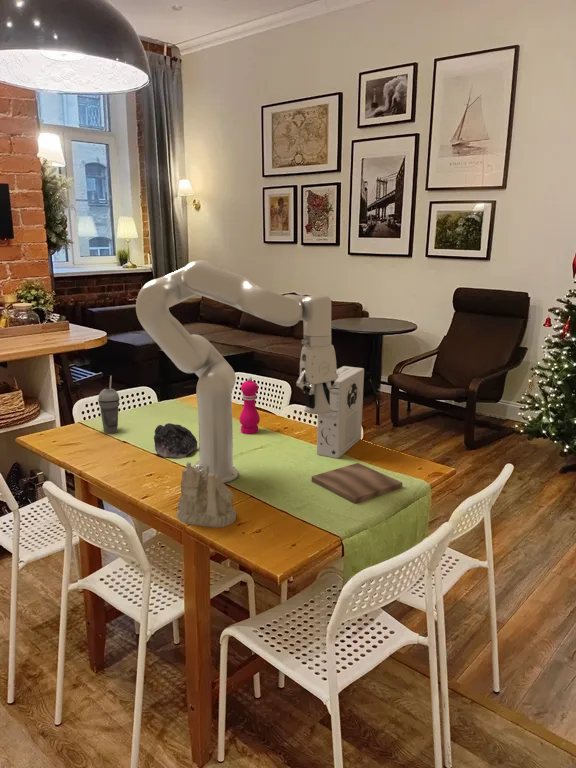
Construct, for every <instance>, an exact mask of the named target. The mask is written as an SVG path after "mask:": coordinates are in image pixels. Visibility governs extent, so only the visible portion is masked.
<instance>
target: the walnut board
mask: <svg viewBox="0 0 576 768" xmlns="http://www.w3.org/2000/svg"><path fill="white" fill-rule="evenodd" d="M311 482H312V483H315V484H316V485H318V486H320V487H322V488H324V489H326V490H328V491H330V492H331V493H333V494H335V495H337V496H339V497H341V498H343V499H345V500H347V501H349V502H351V503H353V504H355V505H356V504H359V503H361V502H365V501H367V500H371V499H374V498H377V497H379V496H381V495H384V494H388V493H390V492H393V491H396V490H399V489H402V488H403V481H400V480H398V479H396V478H393V477H391V476H389V475H387V474H384V473H382V472H380V471H377V470H375V469H373V468H370V467H369V466H365V465H364V464H361V463H360V462H356V463H352V464H349V465H345V466H342V467H338V468H334V469H332V470H328V471H325V472H321V473H318V474H315V475H312V476H311Z"/></svg>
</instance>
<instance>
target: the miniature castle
mask: <svg viewBox="0 0 576 768" xmlns="http://www.w3.org/2000/svg"><path fill="white" fill-rule="evenodd" d="M186 468H187V469H186ZM186 468H185V469H186V471H185V470H184V469H182V470H181V473H182V474H181V479H180V493H181V496H180V497H179V498H178V502H177V513H176V518H177V519H178V520H179V521H180V522H182V523H183V524H186V525H187V524H188V525H192V526H200V527H208V528H209V527H210V528H217V529H218V528H224V527H228V526H230V525H232V524H233V523H234V522H235V521H236V518H237V512H236V510H235V509H234V508H233V505H234V504H233V503H234V500H233V499H232V498H233V496H234V493H233V492H232V490H231V489H230V488H229V487H228V486H227V485H226V483H223V481H222V480H221V478H220V477H219V475H216V477H215V475H214V474H213V473H209V474H208V473H207V472H205V474H204V475H203V476H202V473H201V472H200V471H199V469H194V466H192V463H191V462H189V461H187V462H186Z"/></svg>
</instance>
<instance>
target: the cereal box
mask: <svg viewBox="0 0 576 768" xmlns="http://www.w3.org/2000/svg"><path fill="white" fill-rule="evenodd" d="M337 374H338V378H337V380H336V381H335V382H334V384H333V386H332V390H331V391H330V404H329V406H330V408H331V411H330V412H329V413H325V414H321V415H319V414H317V427H316V429H317V430H316V431H317V433H316V436H317V437H316V455H318V456H323V457H329V458H333V459H339V458H341V456H343V455H344V454H345V453H347V451H349V450H350V449H351V448H352V447H353V446H355V444H356V443H358V442H359V441H360V440H361V439H362V423H363V403H364V402H363V401H364V400H363V399H364V382H365V381H364V380H365V378H364V377H365V368H363V367H355V366H347V365H343V366H341V367H339V368H337Z"/></svg>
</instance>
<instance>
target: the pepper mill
mask: <svg viewBox="0 0 576 768" xmlns="http://www.w3.org/2000/svg"><path fill="white" fill-rule="evenodd" d="M240 390H241V393H242V397H241V398H242V400H243V408H242V410H241V413H240V415H239V423H240V424H241V426H240V432H241V433H242V434H245V435H246V434H247V435H253V434H257V433H259V426H258V424H259V423H260V421H261V418H260V414H259V412H258V409H257V408H256V407H257V406H256V400H257V399H258V398H257V397H258V396H257V393H258V390H259V385H258V384H257V382H255V381H254V380H253V377H251V376H248V377H246V380H245V381H243V382H242V383H241V386H240Z"/></svg>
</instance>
